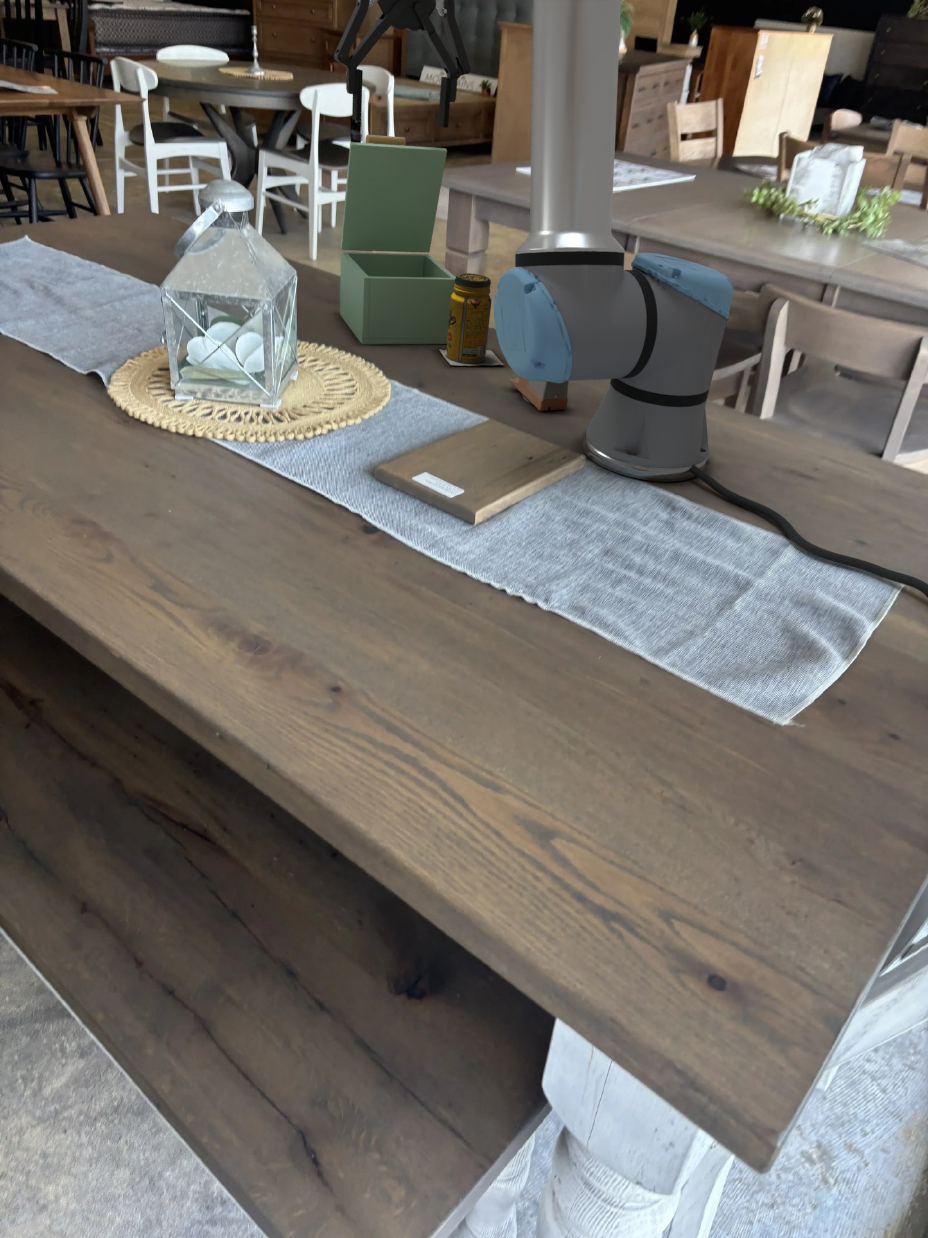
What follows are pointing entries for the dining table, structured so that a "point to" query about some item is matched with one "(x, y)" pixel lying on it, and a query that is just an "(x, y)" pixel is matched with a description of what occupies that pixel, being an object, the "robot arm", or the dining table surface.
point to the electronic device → (543, 393)
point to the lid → (391, 195)
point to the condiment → (469, 322)
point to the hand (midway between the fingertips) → (400, 123)
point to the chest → (395, 298)
